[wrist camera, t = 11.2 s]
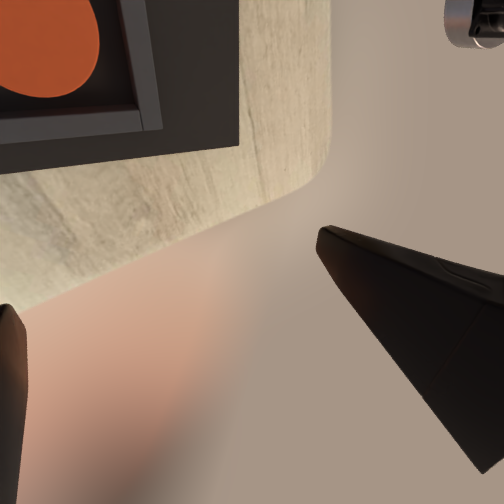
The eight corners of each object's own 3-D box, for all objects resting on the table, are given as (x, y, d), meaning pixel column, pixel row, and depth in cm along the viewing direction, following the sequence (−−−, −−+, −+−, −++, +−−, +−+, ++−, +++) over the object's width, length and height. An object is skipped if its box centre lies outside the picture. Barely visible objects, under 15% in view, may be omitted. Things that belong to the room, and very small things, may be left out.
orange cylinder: (76, -40, 12) (77, -66, 8) (103, 76, 14) (112, 94, 11) (-51, -52, 11) (-115, -89, 7) (2, 78, 13) (-26, 101, 9)
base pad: (229, -149, 13) (255, -176, 11) (233, 141, 20) (249, 153, 18) (-270, -269, 8) (-369, -353, 6) (-30, 171, 15) (-44, 192, 13)
